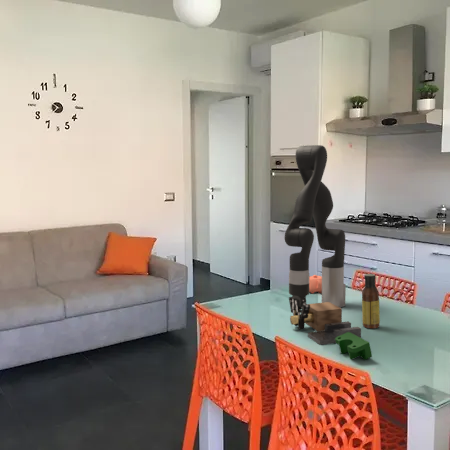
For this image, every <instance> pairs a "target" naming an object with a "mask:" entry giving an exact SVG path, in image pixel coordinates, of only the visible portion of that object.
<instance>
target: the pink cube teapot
mask: <svg viewBox="0 0 450 450" xmlns="http://www.w3.org/2000/svg"><path fill="white" fill-rule="evenodd" d="M316 292H318V293H319V294H322V275H317V274H313V275H309V293H311V294H312V295H313V294H315V293H316Z"/></svg>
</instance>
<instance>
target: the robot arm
mask: <svg viewBox="0 0 450 450" xmlns="http://www.w3.org/2000/svg"><path fill="white" fill-rule="evenodd" d="M327 161H328V152H327V148H326V147H325V146H324V145H323V144H322V145H321V144H320V145H319V144H318V145H317V144H316V145H315V144H314V145H312V144H311V145H309V144H308V145H300V146H298V147H297V148H296V150H295V162H296V165H297V169H298V171H299V175H300V177H301V179H302V181H303V185H304V186H303V188H302V189H301V190H300V192H299V193H298V195H297V197H296V199H295V202H294V203H295V204H294V208H293V215H292V217H291V219H290V222H289V224H288V225H287V228H286V230H285V233H284V242H285V244H286V245H287V246H288V247H293V248H294V247H295V248H296V247H297V248H301V250H300V251H298V252H294V253H291V254H290V256H289V272H288V293H289V295H290V296H289V297H288V300H289V301H288V303H289V309H290V312H291V314H292V316H295V315H298V324H293V325H294V326H295V327H297V328H298V329H300V330H303V329H305V323H304V319H305V318H308V314H309V309H310V305H309V304H310V303H307V296H309V295H310V292H309V276H310V267H309V266H310V261H309V260H310V255H311V251H312V247H313V244H314V239H315V234H314V232H313V231H312V230H311V229H310V228H308V227H307V228H306V227H301V226H302V225H305V224H308V223H311V222H312V220H313V221H314V225H315V232H316V239H317V242H318V243H317V244H318V246H319V248H320V250H324V251H332V252H334V254H333V255H332V256H329V257H325V258H323V259H321V277H322V293H321V303H324V302H330V303H332V304H334V305H336V306H338V307H340V308H343V307H346V296H347V295H346V292H347V291H346V290H347V289H346V284H345V283H344V280H345V279H344V278H345V252H346V251H345V250H346V233H345V231H344V230H343V229H339V228H327V226H326V222H327V221H328V218H329V217H330V216H331V213H332V212H333V209H334V202H333V198H332V197H333V196H332V194H331V191H330V189H329V188H328V186H327V185H326V184H324V182H323V181H322V179H323V176H324V172H325V169H326V167H327ZM307 304H308V305H307Z"/></svg>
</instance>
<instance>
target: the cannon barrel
mask: <svg viewBox="0 0 450 450" xmlns="http://www.w3.org/2000/svg"><path fill="white" fill-rule="evenodd" d="M289 320H290V324H291V325H294V324H298V315H295V316H293V315H290V317H289ZM310 322H314V313H312V314H308V318H305V319H304V324H306V323H310Z"/></svg>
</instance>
